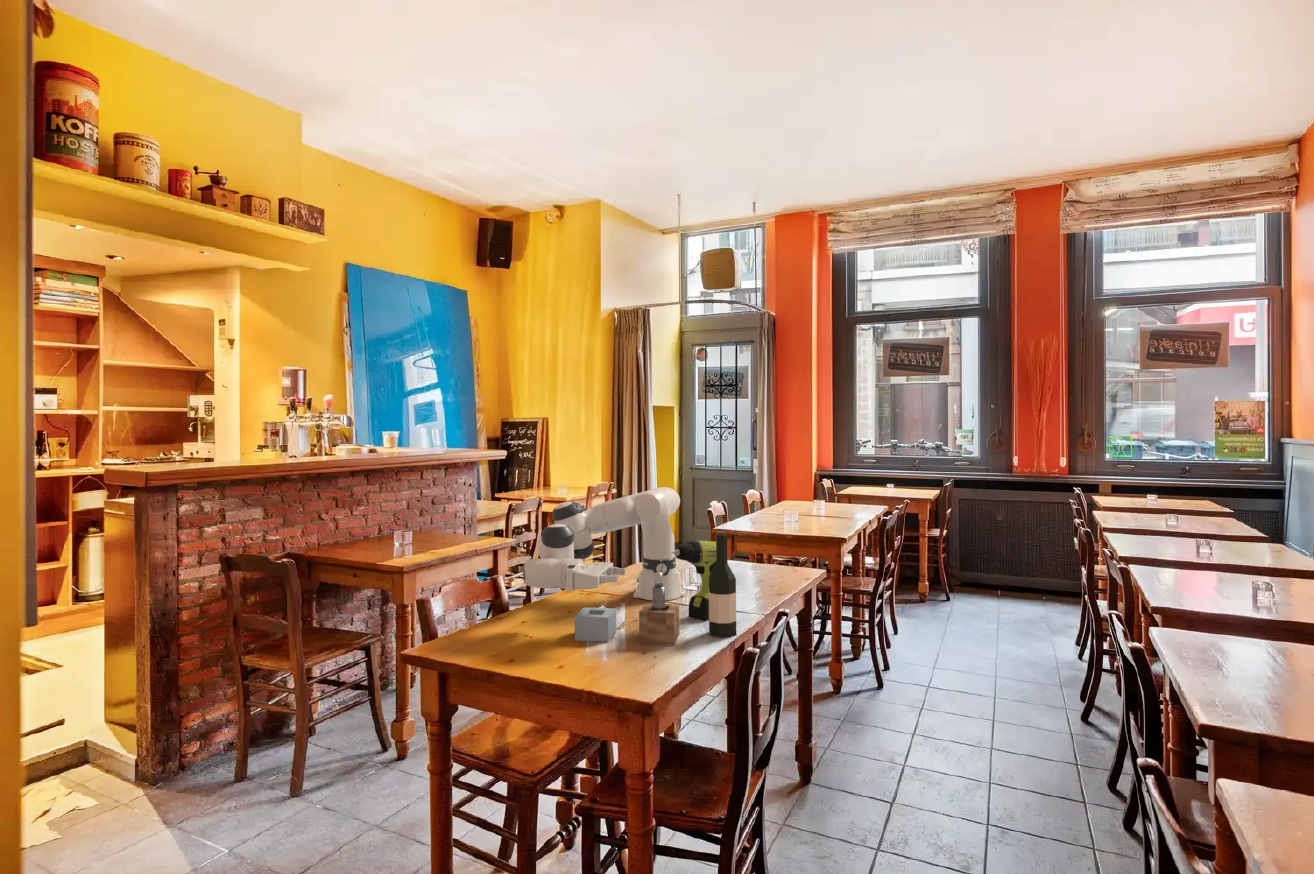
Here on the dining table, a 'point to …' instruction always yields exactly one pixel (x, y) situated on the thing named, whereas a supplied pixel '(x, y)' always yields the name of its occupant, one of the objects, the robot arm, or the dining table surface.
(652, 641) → the block
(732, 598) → the wine bottle
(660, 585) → the stepped metal cylinder
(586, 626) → the socket block
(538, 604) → the dining table surface
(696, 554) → the cordless drill
